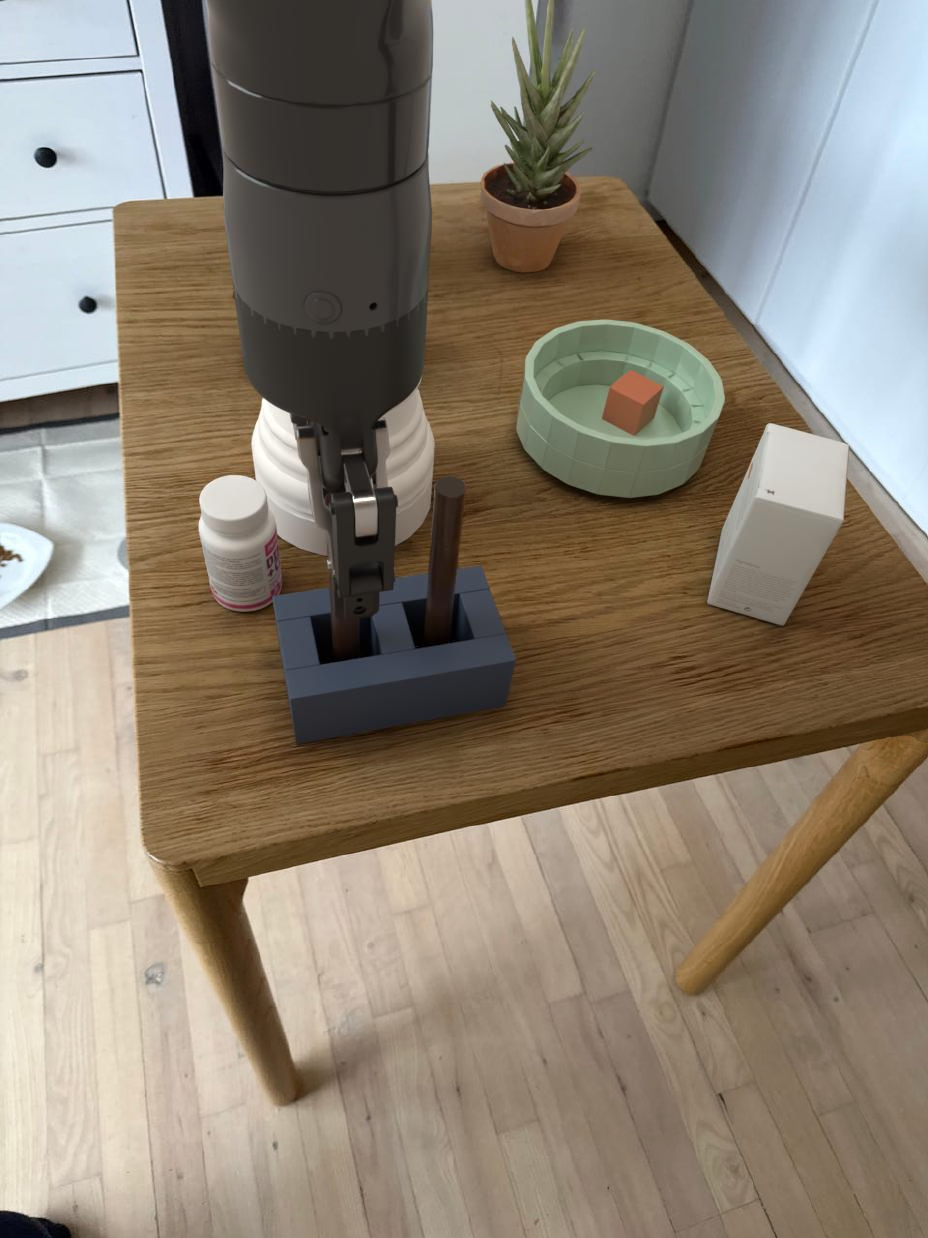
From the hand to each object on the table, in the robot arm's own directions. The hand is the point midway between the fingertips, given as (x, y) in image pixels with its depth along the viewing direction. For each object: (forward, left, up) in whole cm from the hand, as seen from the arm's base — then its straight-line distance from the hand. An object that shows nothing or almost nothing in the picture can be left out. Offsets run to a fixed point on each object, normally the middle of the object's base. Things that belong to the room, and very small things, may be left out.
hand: (342, 555), depth 47 cm
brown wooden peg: (-5, +2, -12) cm, 13 cm away
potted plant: (-39, -37, -12) cm, 55 cm away
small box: (-30, +6, -12) cm, 33 cm away
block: (-32, -12, -11) cm, 36 cm away
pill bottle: (+2, -10, -12) cm, 16 cm away
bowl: (-30, -11, -12) cm, 34 cm away
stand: (-3, +1, -12) cm, 12 cm away
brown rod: (0, 0, -12) cm, 12 cm away
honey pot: (-8, -15, -12) cm, 21 cm away
